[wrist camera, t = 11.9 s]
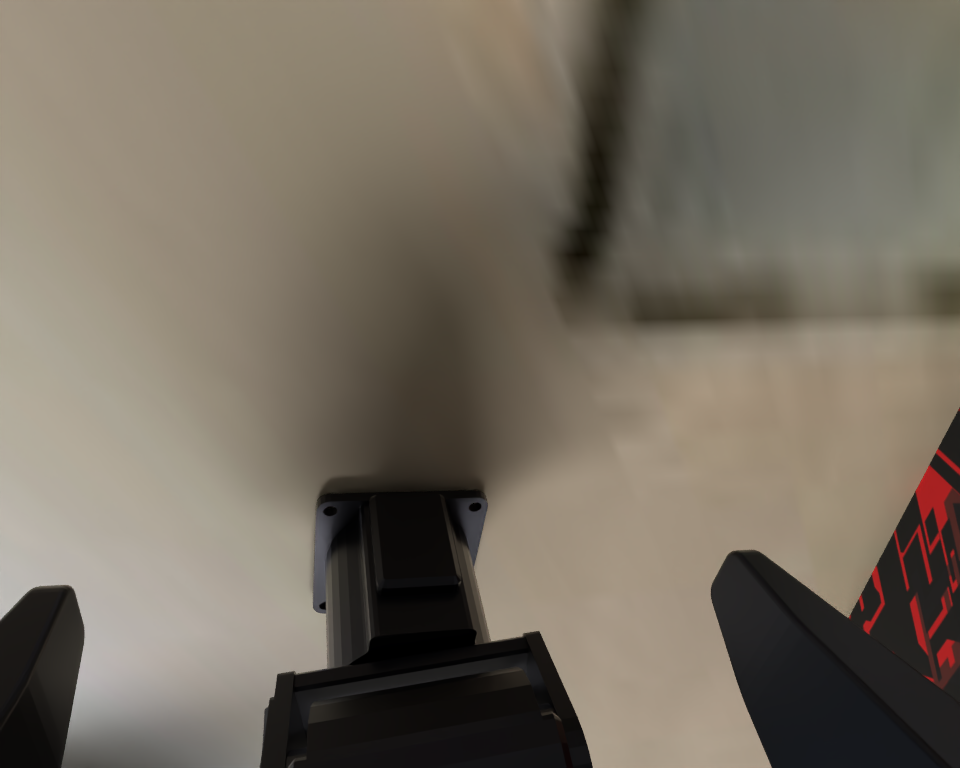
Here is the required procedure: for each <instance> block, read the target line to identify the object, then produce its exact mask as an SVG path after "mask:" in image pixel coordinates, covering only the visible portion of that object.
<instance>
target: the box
mask: <svg viewBox="0 0 960 768" xmlns="http://www.w3.org/2000/svg"><path fill="white" fill-rule="evenodd" d="M848 619H850V620H851V621H852V622H853V623H855V624H856V625H857V626H859V627H860V628H861V629H863V630H864V631H865V632H867V633H868V634H869V635H871V636H872V637H873V638H875V639H876V640H877V641H879V642H880V643H881V644H883V645H884V646H885V647H887V648H888V649H889V650H891V651H892V652H893V653H894V654H896V655H897V656H898V657H900V658H901V659H902V660H904V661H905V662H906V663H908V664H909V665H910V666H912V667H913V668H914V669H916V670H917V671H918V672H920V673H921V674H922V675H924V676H925V677H926V678H928V679H929V680H930V681H931V682H933V683H934V684H935V685H937V686H938V687H939V688H941V689H942V690H943V691H945V692H946V693H947V694H949V695H950V696H951V697H953V698H954V699H955V700H957V701H958V702H959V703H960V408H959V410H958V412H957V414H956V416H955V418H954V419H953V421H952V423H951V425H950V427H949V429H948V431H947V433H946V435H945V436H944V438H943V440H942V442H941V444H940V446H939V448H938V450H937V452H936V454H935V455H934V457H933V459H932V461H931V463H930V465H929V467H928V469H927V471H926V473H925V474H924V476H923V478H922V480H921V482H920V484H919V486H918V488H917V490H916V491H915V493H914V495H913V497H912V499H911V501H910V503H909V505H908V507H907V509H906V510H905V512H904V514H903V516H902V518H901V520H900V522H899V524H898V526H897V527H896V529H895V531H894V533H893V535H892V537H891V539H890V541H889V543H888V545H887V546H886V548H885V550H884V552H883V554H882V556H881V558H880V560H879V562H878V563H877V565H876V567H875V569H874V571H873V573H872V575H871V577H870V579H869V581H868V582H867V584H866V586H865V588H864V590H863V592H862V594H861V596H860V598H859V600H858V601H857V603H856V605H855V607H854V609H853V611H852V613H851V615H850V617H849V618H848Z"/></svg>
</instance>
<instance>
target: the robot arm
mask: <svg viewBox="0 0 960 768" xmlns="http://www.w3.org/2000/svg"><path fill="white" fill-rule="evenodd" d="M475 502H477V503H476V504H472V503H475ZM330 506H332V507H334V508H326V507H330ZM487 507H488V503H487V499H486V496H485V494H484V493H483V492H481V491H476V490H471V491H429V492H387V493H344V494H326V495H323V496H321V497H320V498H319V499H318V500H317V503H316V526H315V555H314V585H313V608H314V610H315V611H316V612H319V613H326V625H327V669H322V670H316V671H310V672H304V673H298V674H296V673H295V671H292V672H286V673H280V674H278V675H277V682H276V689H275V696H274V697H272V698H270V701H269V707H267V708H266V709H265V715H264V734H263V749H262V757H261V763H260V768H593V766H592V762H591V758H590V754H589V750H588V746H587V743H586V740H585V736H584V733H583V730H582V727H581V725H580V722H579V720H578V717H577V715H576V713H575V710H574V708H573V706H572V704H571V701H570V699H569V697H568V695H567V692H566V690H565V688H564V686H563V683H562V681H561V679H560V677H559V674H558V672H557V670H556V668H555V665H554V663H553V661H552V659H551V656H550V654H549V652H548V650H547V647H546V645H545V643H544V641H543V638H542V636H541V634H540V632H539V631H536V632H530V633H523V636H522V637H516V638H510V639H504V640H498V641H492V642H491V640H490V636H489V631H488V627H487V623H486V619H485V614H484V610H483V606H482V602H481V597H480V593H479V589H478V585H477V580H476V576H475V572H474V564H475V560H476V555H477V551H478V547H479V542H480V538H481V534H482V529H483V525H484V521H485V516H486V512H487ZM711 599H712V603H713V606H714V610H715V613H716V616H717V619H718V622H719V625H720V629H721V632H722V635H723V638H724V641H725V645H726V648H727V651H728V654H729V657H730V661H731V664H732V667H733V670H734V673H735V677H736V680H737V683H738V686H739V688H740V691H741V694H742V697H743V699H744V702H745V705H746V707H747V710H748V712H749V714H750V717H751V719H752V722H753V724H754V726H755V729H756V731H757V733H758V736H759V738H760V740H761V743H762V745H763V748H764V750H765V752H766V755H767V757H768V759H769V762H770V764H771V767H772V768H960V703H959V702H958V701H957V700H955V699H954V698H953V697H951V696H950V695H949V694H947V693H946V692H945V691H943V690H942V689H941V688H939V687H938V686H937V685H935V684H934V683H933V682H931V681H930V680H929V679H928V678H926V677H925V676H924V675H922V674H921V673H920V672H918V671H917V670H916V669H914V668H913V667H912V666H910V665H909V664H908V663H906V662H905V661H904V660H902V659H901V658H900V657H898V656H897V655H896V654H894V653H893V652H892V651H891V650H889V649H888V648H887V647H885V646H884V645H883V644H881V643H880V642H879V641H877V640H876V639H875V638H873V637H872V636H871V635H869V634H868V633H867V632H865V631H864V630H863V629H861V628H860V627H859V626H857V625H856V624H855V623H853V622H852V621H851V620H850V619H848V618H847V617H846V616H844V615H843V614H842V613H840V612H839V611H838V610H836V609H835V608H834V607H832V606H831V605H830V604H828V603H827V602H826V601H824V600H823V599H822V598H820V597H819V596H818V595H816V594H815V593H814V592H813V591H811V590H810V589H809V588H807V587H806V586H805V585H803V584H802V583H801V582H799V581H798V580H797V579H795V578H794V577H793V576H791V575H790V574H789V573H787V572H786V571H785V570H783V569H782V568H781V567H779V566H778V565H777V564H775V563H774V562H773V561H772V560H770V559H769V558H768V557H766V556H765V555H764V554H762V553H761V552H759V551H756V550H738V551H732V552H731V553H729V554H728V555H727V557H726V559H725V561H724V562H723V564H722V566H721V568H720V570H719V572H718V574H717V576H716V577H715V579H714V581H713V583H712V587H711ZM83 645H84V624H83V620H82V617H81V613H80V609H79V606H78V602H77V598H76V594H75V591H74V589H73V588H72V587H71V586H69V585H54V586H39V587H35V588H33V589H31V590H30V591H28V592H27V593H26V594H25V595H24V596H23V597H22V598H21V599H20V600H19V601H18V602H17V603H16V604H15V605H14V607H13V608H12V609H11V610H10V611H9V612H8V613H7V614H6V615H5V616H4V617H3V618H2V619H1V620H0V768H61V764H62V760H63V755H64V750H65V744H66V739H67V733H68V728H69V722H70V717H71V711H72V706H73V700H74V695H75V689H76V684H77V679H78V673H79V668H80V662H81V657H82V651H83Z"/></svg>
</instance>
